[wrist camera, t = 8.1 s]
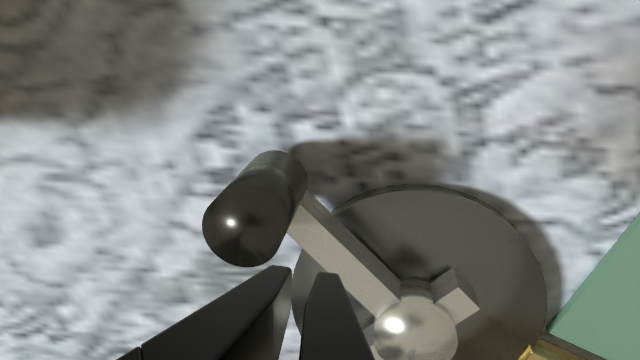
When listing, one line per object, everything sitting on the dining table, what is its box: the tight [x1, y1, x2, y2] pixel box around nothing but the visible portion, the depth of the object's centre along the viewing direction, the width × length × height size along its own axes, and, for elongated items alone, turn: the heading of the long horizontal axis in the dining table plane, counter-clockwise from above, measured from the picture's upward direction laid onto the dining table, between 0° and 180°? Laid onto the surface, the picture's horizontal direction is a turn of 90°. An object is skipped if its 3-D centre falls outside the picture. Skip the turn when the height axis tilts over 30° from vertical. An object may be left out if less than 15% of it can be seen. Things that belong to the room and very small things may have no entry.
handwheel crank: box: [202, 150, 480, 360], centre depth 18 cm, size 12×6×5 cm, turn 45°
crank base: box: [291, 185, 547, 360], centre depth 22 cm, size 12×12×1 cm
